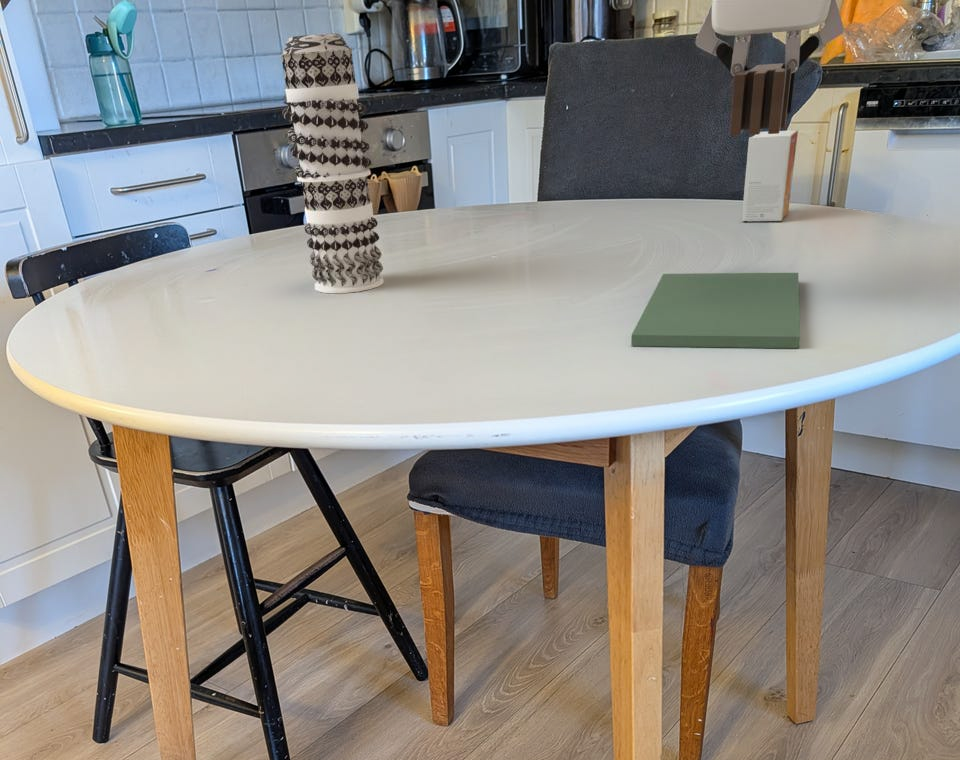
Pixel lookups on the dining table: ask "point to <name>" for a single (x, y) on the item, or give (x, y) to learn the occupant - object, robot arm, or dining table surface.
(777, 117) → the fork
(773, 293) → the mat
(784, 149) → the small box
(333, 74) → the decorative candle
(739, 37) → the robot arm
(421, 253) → the dining table surface
